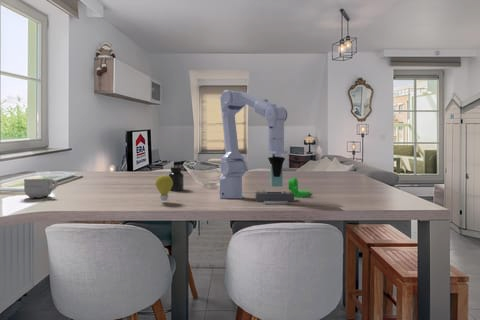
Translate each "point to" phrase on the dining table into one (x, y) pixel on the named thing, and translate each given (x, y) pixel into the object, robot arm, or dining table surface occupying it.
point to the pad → (275, 202)
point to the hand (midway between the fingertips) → (276, 176)
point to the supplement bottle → (177, 179)
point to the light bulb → (164, 186)
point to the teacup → (39, 187)
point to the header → (274, 196)
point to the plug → (276, 179)
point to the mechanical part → (294, 188)
